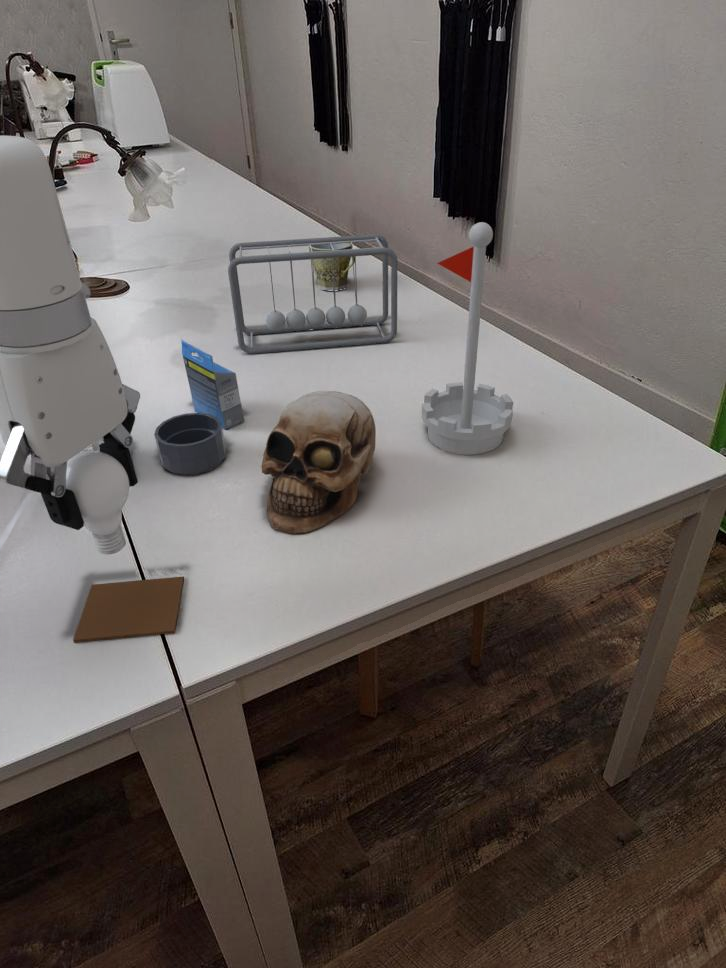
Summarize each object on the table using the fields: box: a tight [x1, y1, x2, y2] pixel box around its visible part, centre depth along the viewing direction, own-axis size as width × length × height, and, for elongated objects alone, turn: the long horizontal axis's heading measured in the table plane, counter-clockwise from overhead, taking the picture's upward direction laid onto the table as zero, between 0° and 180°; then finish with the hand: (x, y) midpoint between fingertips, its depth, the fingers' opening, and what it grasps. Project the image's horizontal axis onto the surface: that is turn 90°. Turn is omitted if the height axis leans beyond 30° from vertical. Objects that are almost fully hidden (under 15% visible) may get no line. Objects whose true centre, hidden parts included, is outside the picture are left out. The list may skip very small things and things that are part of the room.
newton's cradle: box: [227, 233, 399, 355], centre depth 123 cm, size 30×10×18 cm, turn 98°
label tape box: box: [180, 338, 245, 430], centre depth 99 cm, size 9×4×12 cm, turn 44°
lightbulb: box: [66, 450, 130, 555], centre depth 61 cm, size 6×6×11 cm
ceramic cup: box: [308, 243, 355, 291], centre depth 149 cm, size 13×10×10 cm
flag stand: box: [421, 221, 514, 456], centre depth 88 cm, size 13×13×30 cm
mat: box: [72, 576, 185, 644], centre depth 69 cm, size 10×8×1 cm
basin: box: [153, 412, 227, 476], centre depth 91 cm, size 9×9×5 cm
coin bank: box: [260, 390, 377, 535], centre depth 83 cm, size 16×17×13 cm
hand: (97, 501), depth 61 cm, fingers closed on lightbulb, 6 cm apart
